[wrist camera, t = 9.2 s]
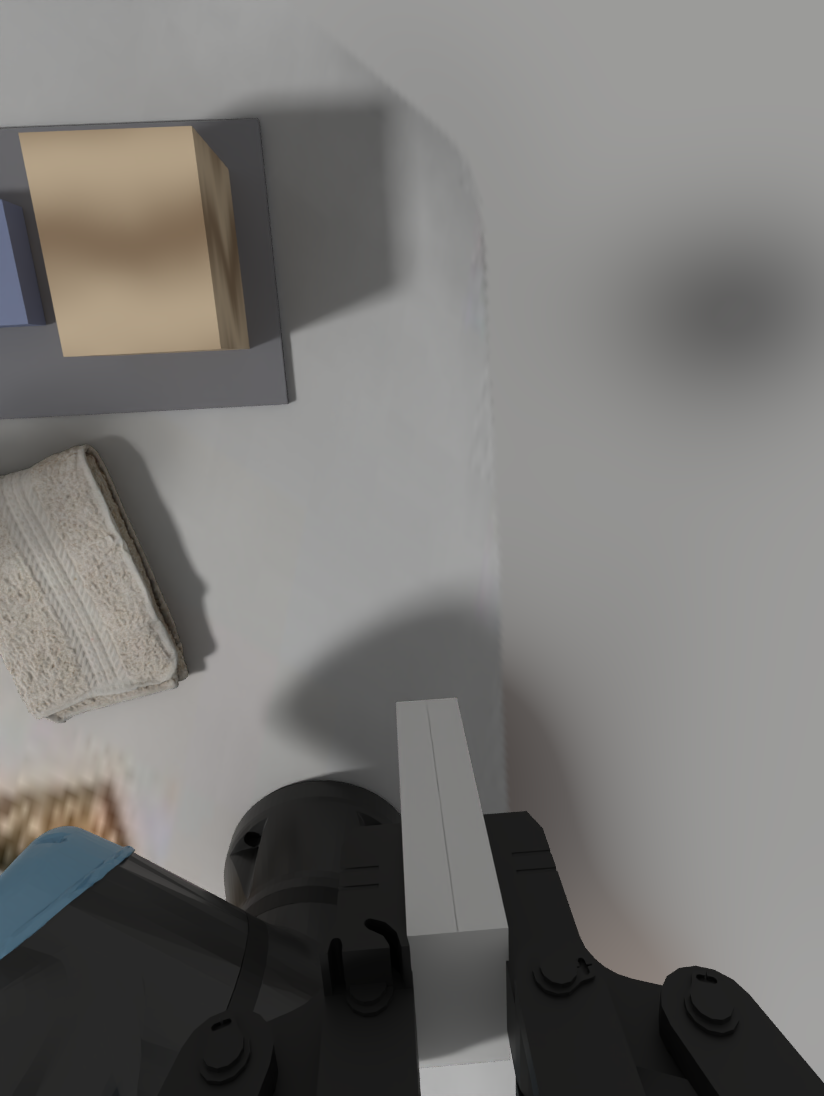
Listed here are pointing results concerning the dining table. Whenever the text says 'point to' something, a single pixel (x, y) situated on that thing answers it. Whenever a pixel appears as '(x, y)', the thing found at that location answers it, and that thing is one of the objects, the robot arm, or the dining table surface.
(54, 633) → the washcloth
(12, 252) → the card box
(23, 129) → the mat
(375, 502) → the dining table surface
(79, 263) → the oak block
